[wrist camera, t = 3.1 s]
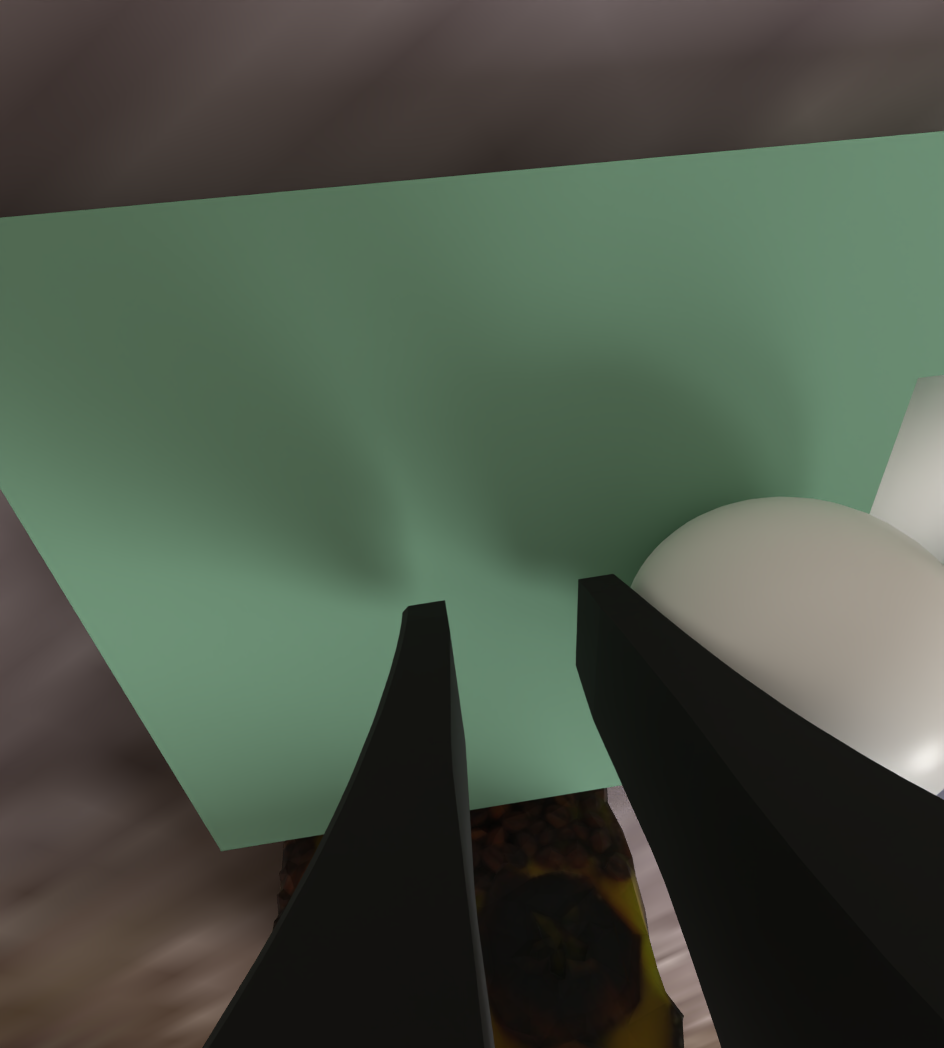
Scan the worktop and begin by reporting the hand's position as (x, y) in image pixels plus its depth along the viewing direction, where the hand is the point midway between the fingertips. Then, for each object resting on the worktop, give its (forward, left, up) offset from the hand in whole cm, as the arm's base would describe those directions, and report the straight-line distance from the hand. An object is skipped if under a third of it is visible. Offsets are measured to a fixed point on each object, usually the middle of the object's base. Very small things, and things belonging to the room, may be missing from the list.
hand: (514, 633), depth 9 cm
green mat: (-4, 0, -3) cm, 6 cm away
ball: (-4, 0, +1) cm, 4 cm away
